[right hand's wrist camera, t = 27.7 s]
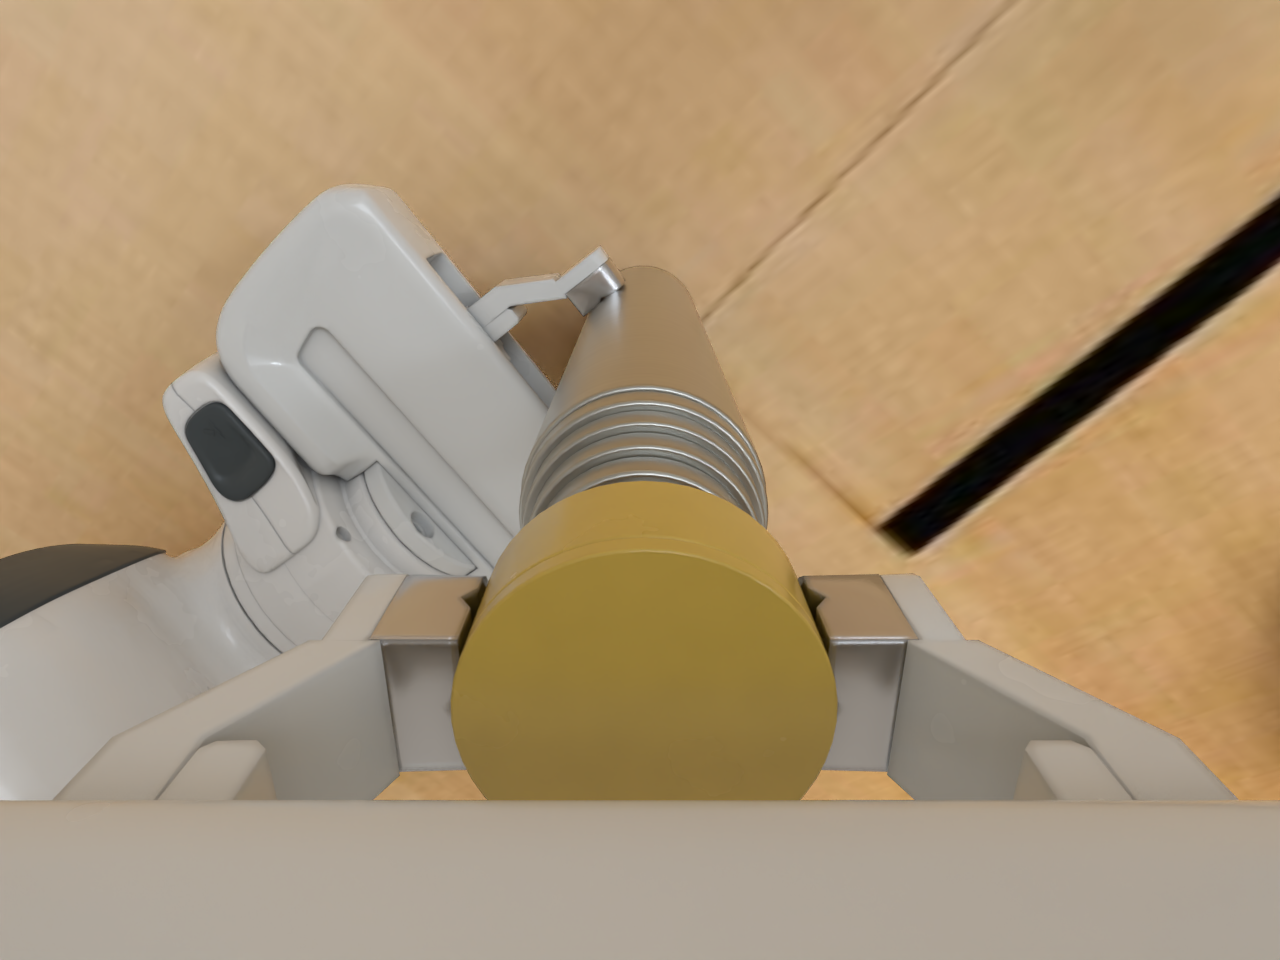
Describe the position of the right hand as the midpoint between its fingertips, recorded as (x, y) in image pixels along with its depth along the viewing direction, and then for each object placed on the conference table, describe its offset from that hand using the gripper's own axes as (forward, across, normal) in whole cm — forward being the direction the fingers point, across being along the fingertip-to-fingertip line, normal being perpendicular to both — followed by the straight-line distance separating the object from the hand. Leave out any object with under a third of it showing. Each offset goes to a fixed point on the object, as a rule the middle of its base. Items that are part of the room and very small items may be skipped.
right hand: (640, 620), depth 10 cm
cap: (-2, 0, 0) cm, 2 cm away
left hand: (+18, -1, 0) cm, 18 cm away
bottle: (+24, 0, 0) cm, 24 cm away
